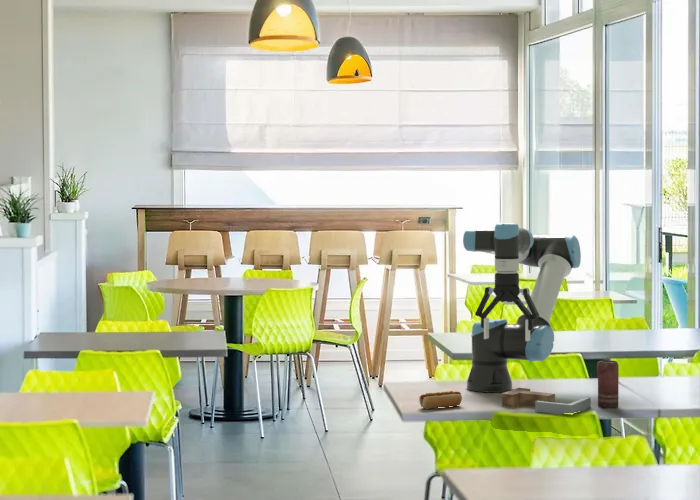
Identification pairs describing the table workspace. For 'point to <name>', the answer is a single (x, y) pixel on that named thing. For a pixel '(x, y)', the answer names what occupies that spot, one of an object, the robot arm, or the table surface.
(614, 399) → the can
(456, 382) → the table surface
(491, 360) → the robot arm
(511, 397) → the t block
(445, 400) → the food
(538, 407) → the bracket
